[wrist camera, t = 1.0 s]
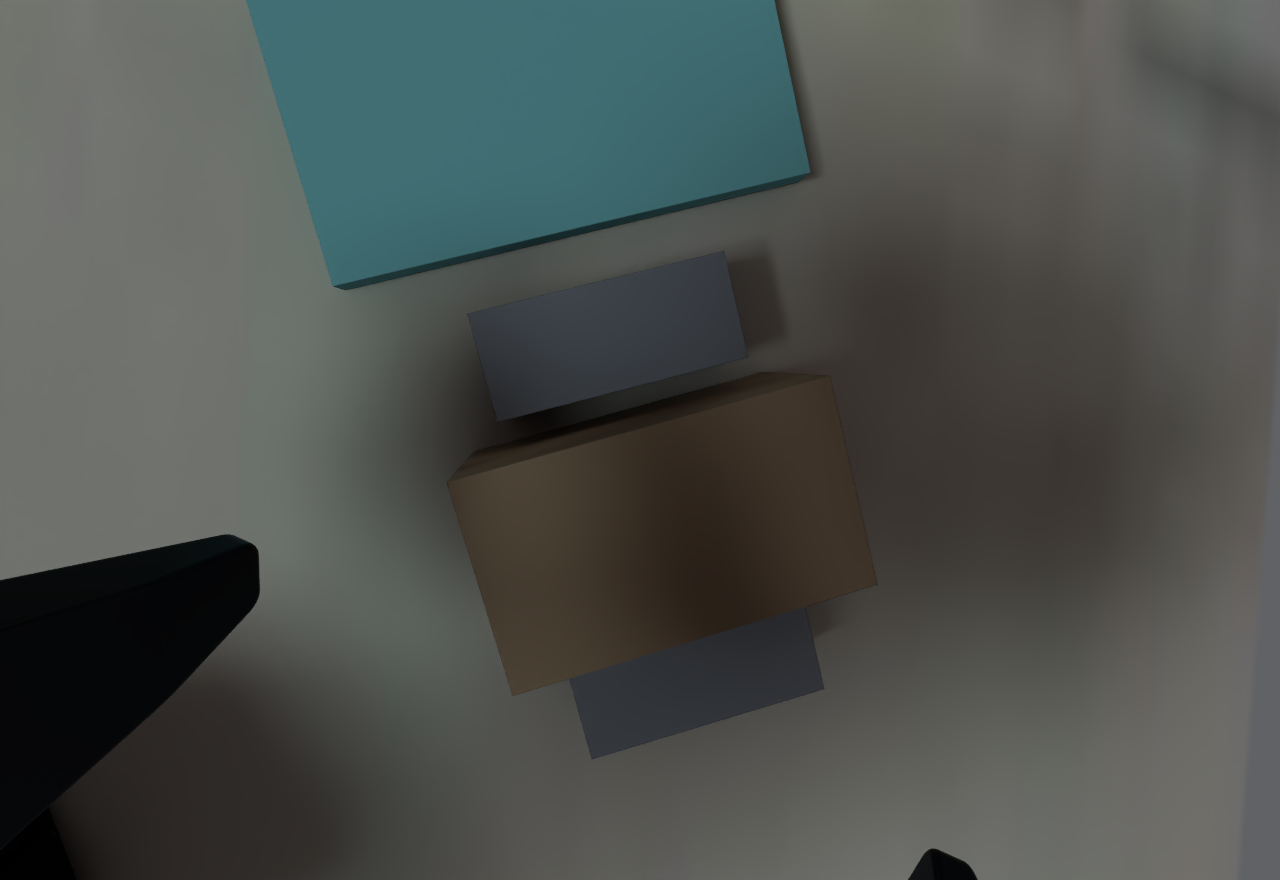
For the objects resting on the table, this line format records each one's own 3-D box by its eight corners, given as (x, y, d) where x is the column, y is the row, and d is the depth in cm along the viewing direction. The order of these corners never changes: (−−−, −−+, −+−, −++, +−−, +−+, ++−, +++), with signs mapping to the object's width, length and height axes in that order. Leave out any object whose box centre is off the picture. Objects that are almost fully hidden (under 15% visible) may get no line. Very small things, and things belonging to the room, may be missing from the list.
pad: (345, 289, 18) (332, 286, 17) (257, -1, 17) (238, -24, 16) (797, 182, 19) (810, 172, 18) (737, -99, 18) (748, -125, 17)
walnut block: (523, 611, 20) (512, 695, 15) (474, 450, 19) (446, 482, 14) (799, 530, 20) (877, 584, 15) (761, 371, 20) (829, 375, 15)
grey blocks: (587, 710, 20) (591, 759, 18) (478, 320, 19) (467, 313, 16) (792, 649, 21) (824, 688, 18) (702, 264, 19) (724, 251, 17)
